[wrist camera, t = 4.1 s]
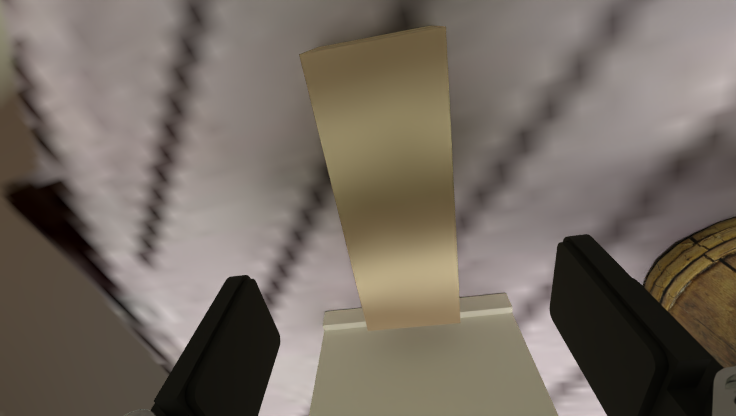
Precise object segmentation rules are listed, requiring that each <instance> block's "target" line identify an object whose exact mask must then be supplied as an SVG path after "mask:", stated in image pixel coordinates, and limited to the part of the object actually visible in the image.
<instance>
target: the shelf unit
mask: <svg viewBox="0 0 736 416" xmlns="http://www.w3.org/2000/svg"><path fill="white" fill-rule="evenodd" d="M459 302H460V322H461V323H455V324H443V325H432V326H420V327H409V328H397V329H386V330H374V331H368V329H367V325H366V321H365V317H364V313H363V309H362V308H356V309H346V310H336V311H326V312H325V316H324V321H323V328H324V336H323V342H322V347H321V353H320V358H319V364H318V369H317V374H316V380H315V385H314V391H313V396H312V402H311V407H310V413H309V416H558V414H557V412H556V409H555V407H554V405H553V403H552V400H551V398H550V396H549V394H548V392H547V389H546V387H545V385H544V383H543V380H542V378H541V376H540V374H539V372H538V369H537V367H536V365H535V363H534V360H533V358H532V356H531V354H530V352H529V349H528V347H527V345H526V343H525V340H524V338H523V336H522V334H521V332H520V329H519V327H518V325H517V323H516V320H515V318H514V316H513V314H512V305H511V303H510V301H509V299H508V297H507V294H506V293H502V294H492V295H482V296H473V297H463V298H459Z"/></svg>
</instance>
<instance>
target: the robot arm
mask: <svg viewBox="0 0 736 416" xmlns="http://www.w3.org/2000/svg"><path fill="white" fill-rule="evenodd" d="M550 314H551V318H552V320H553V322H554V324H555V325H556V327H557V329H558V331H559V332H560V334H561V336H562V338H563V339H564V341H565V343H566V345H567V346H568V348H569V350H570V352H571V353H572V355H573V357H574V358H575V360H576V362H577V364H578V365H579V367H580V369H581V371H582V372H583V374H584V376H585V378H586V379H587V381H588V383H589V385H590V386H591V388H592V390H593V392H594V393H595V395H596V397H597V398H598V400H599V402H600V404H601V405H602V407H603V409H604V411H605V412H606V414H607V416H736V366H734V367H727V368H724V367H723V366H722V365H721V364H720V363H719V362H718V361H717V360H716V359H715V358H714V357H713V356H712V355H711V354H710V353H709V352H708V351H707V350H706V349H705V348H704V347H703V346H702V345H701V344H700V343H699V342H698V341H697V340H696V339H695V338H694V337H693V336H692V335H691V334H690V333H689V332H688V331H687V330H686V329H685V328H684V327H683V326H682V325H681V324H680V323H679V322H678V321H677V320H676V319H675V318H674V317H673V316H672V315H671V314H670V313H669V312H668V311H667V310H666V309H665V308H664V307H663V306H662V305H661V304H660V303H659V302H658V301H657V300H656V299H655V298H654V297H653V296H652V295H651V294H650V293H649V292H648V291H647V290H646V289H645V288H644V287H643V286H642V285H641V284H640V283H639V282H638V281H637V280H635V279H634V278H632V277H631V276H630V275H629V274H628V273H627V272H626V271H625V270H624V269H623V268H622V267H621V266H620V265H619V264H618V263H617V262H616V261H615V260H614V259H613V258H612V257H611V256H610V255H609V254H608V253H607V252H606V251H605V250H604V249H603V248H602V247H601V246H600V245H599V244H598V243H597V242H596V241H595V240H594V239H593V238H592V237H591V236H590V235H587V234H585V235H576V236H568V237H565V238H564V240H563V242H560V243H559V244H558V246H557V253H556V261H555V269H554V277H553V285H552V293H551V301H550ZM279 346H280V335H279V332H278V330H277V328H276V325H275V323H274V321H273V319H272V317H271V314H270V312H269V310H268V308H267V305H266V303H265V301H264V299H263V296H262V294H261V292H260V290H259V288H258V285H257V283H256V281H255V280H254V279H250V277H249V276H248V275H242V276H233V277H229V278H228V279H227V280H226V281H225V283H224V284H223V286H222V288H221V290H220V291H219V293H218V295H217V296H216V298H215V300H214V301H213V303H212V305H211V306H210V308H209V310H208V311H207V313H206V315H205V316H204V318H203V320H202V321H201V323H200V325H199V326H198V328H197V330H196V331H195V333H194V335H193V336H192V338H191V340H190V341H189V343H188V345H187V346H186V348H185V350H184V351H183V353H182V355H181V356H180V358H179V360H178V361H177V363H176V365H175V366H174V368H173V370H172V371H171V373H170V375H169V376H168V378H167V380H166V381H165V383H164V385H163V386H162V388H161V390H160V391H159V393H158V395H157V396H156V398H155V400H154V402H155V404H154V406H153V407H152V409H151V411H149V410H147V409H145V410H144V409H140V410H136V411H133V412H130V413H128V414H126V415H124V416H258V413H259V410H260V407H261V404H262V401H263V397H264V394H265V391H266V388H267V385H268V382H269V378H270V375H271V372H272V369H273V366H274V362H275V359H276V356H277V353H278V350H279Z"/></svg>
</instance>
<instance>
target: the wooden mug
mask: <svg viewBox="0 0 736 416" xmlns="http://www.w3.org/2000/svg"><path fill="white" fill-rule="evenodd" d="M644 288H645V289H646V290H647V291H648V292H649V293H650V294H651V295H652V296H653V297H654V298H655V299H656V300H657V301H658V302H659V303H660V304H661V305H662V306H663V307H664V308H665V309H666V310H667V311H668V312H669V313H670V314H671V315H672V316H673V317H674V318H675V319H676V320H677V321H678V322H679V323H680V324H681V325H682V326H683V327H684V328H685V329H686V330H687V331H688V332H689V333H690V334H691V335H692V336H693V337H694V338H695V339H696V340H697V341H698V342H699V343H700V344H701V345H702V346H703V347H704V348H705V349H706V350H707V351H708V352H709V353H710V354H711V355H712V356H713V357H714V358H715V359H716V360H717V361H718V362H719V363H720V364H721V365H722V366H723V367H724V368H727V367H734V366H736V217H735V218H732V219H729V220H725V221H722V222H719V223H717V224H715V225H713V226H711V227H709V228H706V229H704V230H702V231H700V232H698V233H696V234H695V235H693V236H691V237H690V238H688V239H687V240H685V241H683V242H682V243H680V244H679V245H677V246H676V247H675V248H674V249H672V250H671V251H670V252H669V253H668V254H667V255H665V256H664V257H663V258H662V259H661V260H660V261H658V263H657V264H656V266H655V267H654V269H653V270H652V271H651V273H650V274H649V276H648V278H647V281H646V284H645V287H644Z"/></svg>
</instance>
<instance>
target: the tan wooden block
mask: <svg viewBox="0 0 736 416" xmlns="http://www.w3.org/2000/svg"><path fill="white" fill-rule="evenodd" d="M299 56H300V60H301V64H302V68H303V72H304V76H305V80H306V84H307V88H308V92H309V96H310V100H311V104H312V108H313V112H314V116H315V120H316V124H317V128H318V132H319V136H320V140H321V144H322V148H323V152H324V156H325V160H326V164H327V168H328V172H329V176H330V180H331V185H332V189H333V193H334V197H335V201H336V205H337V209H338V213H339V217H340V221H341V225H342V229H343V233H344V237H345V241H346V245H347V249H348V253H349V257H350V261H351V265H352V269H353V273H354V277H355V281H356V285H357V289H358V293H359V297H360V301H361V305H362V309H363V313H364V317H365V321H366V325H367V329H368V331H374V330H386V329H397V328H409V327H420V326H432V325H443V324H455V323H461V322H460V302H459V282H458V262H457V242H456V222H455V202H454V182H453V161H452V141H451V121H450V101H449V81H448V61H447V41H446V27H445V26H426V27H421V28H416V29H411V30H405V31H400V32H395V33H390V34H384V35H379V36H374V37H369V38H364V39H358V40H353V41H348V42H343V43H338V44H332V45H327V46H322V47H317V48H315V49H312V50H309V51H307V52H304V53H302V54H299Z"/></svg>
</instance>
